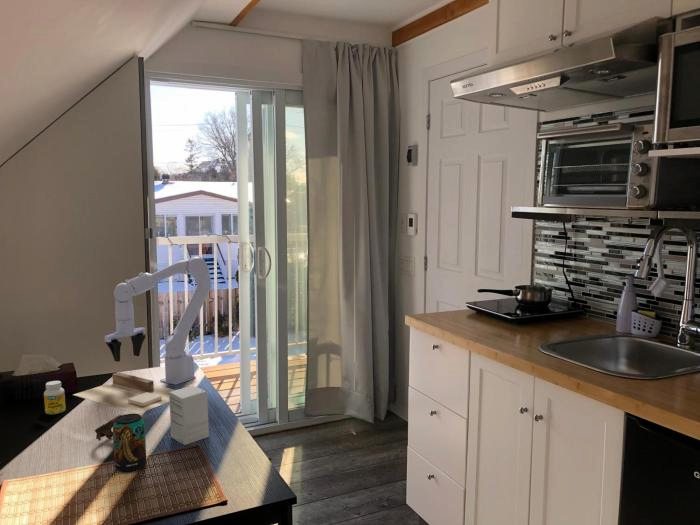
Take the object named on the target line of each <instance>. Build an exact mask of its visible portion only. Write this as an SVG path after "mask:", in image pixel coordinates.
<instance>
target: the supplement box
mask: <svg viewBox="0 0 700 525" xmlns="http://www.w3.org/2000/svg"><path fill="white" fill-rule="evenodd" d="M174 390H175V391H171V392H169V402H168V403H169V415H170V437H171V438H172V439H173V440H175V441H177V442H178V443H180V444H182V445H183V446H186V445H189V444H192V443H195V442H198V441H200V440H203V439H206V438H209V437H210V432H209V431H210V430H209V406H208V392H207V391H206V390H204V389H202V388H201V387H200V388H199V387H197V386H194V385H190V386H186V387H182V388H180V389H174Z"/></svg>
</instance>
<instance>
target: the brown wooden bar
mask: <svg viewBox="0 0 700 525" xmlns="http://www.w3.org/2000/svg"><path fill="white" fill-rule="evenodd" d="M112 382H113V383H114V384H117V385H121V386H125V387H129V388H133V389H137V390H140V391H144V392H150V391H153V390H154V385H155V384H154V380H151V379H147V378H144V377H139V376H135V375H132V374H126V373H123V372H120V371H118V372H115V373H112Z"/></svg>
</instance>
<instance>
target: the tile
mask: <svg viewBox="0 0 700 525" xmlns="http://www.w3.org/2000/svg"><path fill="white" fill-rule="evenodd" d="M161 399H162V396H160V395H156V394H152V393H148V392H146V393H143V394H140V395H138V396H135V397H132V398H129V399H128V402H129V403H132V404H136V405H139V406H146V405H149V404H151V403H154V402H157V401H159V400H161Z"/></svg>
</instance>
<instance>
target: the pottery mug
mask: <svg viewBox="0 0 700 525" xmlns="http://www.w3.org/2000/svg"><path fill="white" fill-rule="evenodd" d="M121 415H122V414H118V415H117V416H115V417H113V418H112V419H110V420H108V421H107V422H106V423H104V424H102V425H100V426H98V427H97V428H96V429H95V430H94V432H95V433H96V436H95V439H96V440H98V441H101V439H102V438H103V437H106V439H108V440H111V439H113V429H112V428H113V425H114V424H115V419H116V418H117V417H119V416H121ZM141 419H142V420H143V421H144V419H143V417H142V416H141Z"/></svg>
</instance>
